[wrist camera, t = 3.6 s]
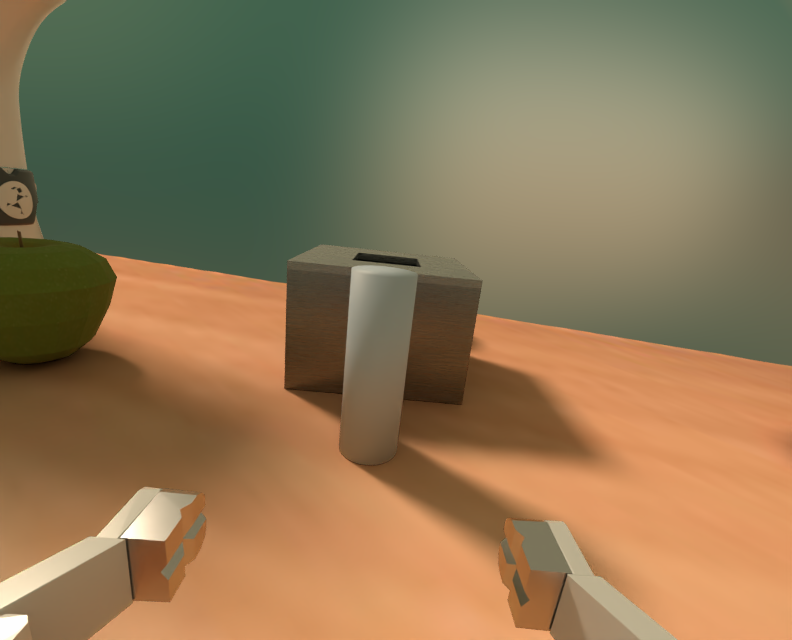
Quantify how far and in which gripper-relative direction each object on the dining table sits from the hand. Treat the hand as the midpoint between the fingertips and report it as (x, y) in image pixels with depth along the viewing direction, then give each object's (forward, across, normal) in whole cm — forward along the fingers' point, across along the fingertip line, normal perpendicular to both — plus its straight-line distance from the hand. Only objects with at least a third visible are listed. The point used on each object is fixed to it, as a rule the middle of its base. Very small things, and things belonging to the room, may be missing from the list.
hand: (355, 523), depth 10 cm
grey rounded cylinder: (+12, 0, -6) cm, 14 cm away
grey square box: (+25, 0, -6) cm, 26 cm away
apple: (+20, -27, -6) cm, 34 cm away
